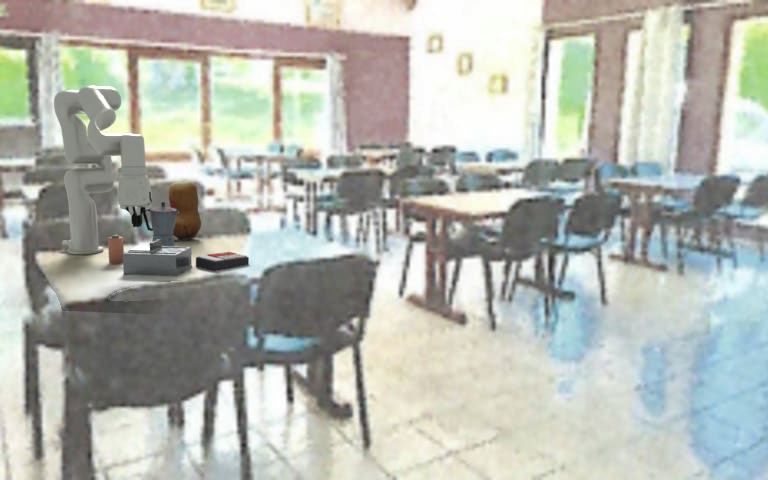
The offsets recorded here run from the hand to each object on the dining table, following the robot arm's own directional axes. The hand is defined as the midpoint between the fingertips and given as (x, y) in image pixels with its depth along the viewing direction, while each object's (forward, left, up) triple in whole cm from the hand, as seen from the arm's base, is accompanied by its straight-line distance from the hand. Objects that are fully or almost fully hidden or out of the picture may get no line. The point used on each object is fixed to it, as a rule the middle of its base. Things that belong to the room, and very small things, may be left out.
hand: (137, 226), depth 226 cm
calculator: (+25, +11, -16) cm, 32 cm away
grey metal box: (+7, 0, -15) cm, 16 cm away
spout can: (-12, +9, -15) cm, 22 cm away
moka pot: (-2, +25, -15) cm, 30 cm away
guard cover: (+3, 0, -8) cm, 8 cm away
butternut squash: (-4, +55, -15) cm, 58 cm away
